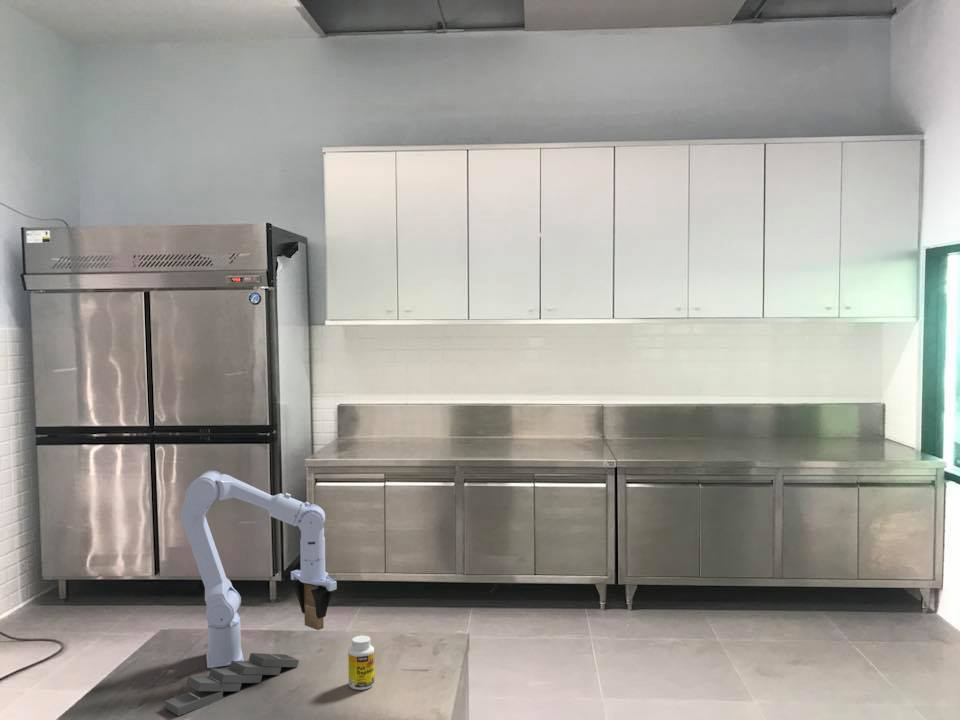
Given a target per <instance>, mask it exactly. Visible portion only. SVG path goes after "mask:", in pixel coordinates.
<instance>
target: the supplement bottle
mask: <svg viewBox="0 0 960 720" xmlns="http://www.w3.org/2000/svg"><path fill="white" fill-rule="evenodd" d="M371 643H372V641H371V637H370V636H368V635H357V636H355V637H353V638H352V639H351V646H350V647H349V648H348V652H347V653H348V685H349V687H350V688H351V689H353V690H358V691H365V690H367V689H370V688H372V687H373V686H374V684H375V648H374V646H373V645H372V644H371Z"/></svg>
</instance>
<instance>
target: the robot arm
mask: <svg viewBox="0 0 960 720" xmlns="http://www.w3.org/2000/svg"><path fill="white" fill-rule="evenodd" d="M184 495H185V496H184V500H183V503H182V508H181V513H180V519H181V523H182V526H183V529H184V532H185V535H186V538H187V540H188V543H189V547H190V549H191V551H192V555H193V557H194V560H195V563H196V566H197V569H198V572H199V575H200V577H201V581H202V584H203V587H204V602H205V604H206V611H205V618H206V620H207V643H208V645H207V646H208V648H207V651H206V652H205V654H206V655H205V657H206V667H207V669H211V668H219V667H227V666H230V664H231V661H245V660H244V655H243V651H242V645H241V644H242V643H241V642H242V641H241V636H242V635H241V617H240V615H239V613H238V612H237V611H238V610H239V608H240V607H241V604H242V596H241V595H240V593H239V591H238V590H236V589H235V588H234V586H233V584H232V582H231V580H230V579H229V578H227V576H226V573H225V569H224V566H223V564H222V560H221V557H220V555H219V551H218V549H217V547H216V544H215V541H214V538H213V535H212V532H211V528H210V527H209V523H208V519H207V517H206V514H207V512H208V511H209V509H210V507H211V505H212V503H213V502H214V501H215V500H216V499H217V498H218V497H219V499H218V501H225V500H228V499H232V498H235V499H238V500H241V501H243V502H246V503H249V504H252V505H254V506H258V507H261V508H263V509H266V510H267V512H268V514H269V517H271V518H274V519H276V520H279V521H281V522H284V523H287V524H289V525H291V526H293V527H298V528H299V531H300V541H299V543H300V548H299V549H300V569H295V570H292V571H290V580H292V581H295V580H296V582H294V583H292V584H291V588H292V590H293V591H294V593H295V594H296V597H297V600H298V603H299V607H300V610H301V613H302V614H304V613H305V609H304V584H305V583H308V584H312V585H316V586H318V588H317V589H313V590H311V593H312V595H313V597H314V601H315V606H316V616H317V618H318V619H320V618H322V617H323V618H325V617H326V616H327V611H328V606H329V603H330V601H331V599H332V596H333V594H334V592H335V590H337V589H338V588H337V586H338V585H337V580H334V579H333V578H331V577H330V576H329V572H327V571H326V538H325V529H324V528H325V527H324V526H325V521H326V513H325V511H324V509H323V508H322V507H321V506H319V505H317V503H312V504H310V502H308V501H305V502H303V501H300V500H298V499H295V498H293V497H291V496H292V494H290V493H288V492H286V493H284V494H283V493H282V492H281V493H278V494H275V495H271V494H270V493H268V492H265V491H263V490H261V489H258V488H257V487H254V486H252V485H250V484H248V483H246V482H244V481H242V480H239V479H238V478H235V477H233V476H231V475H229V474H225V473H223V474H222V473H221V472H219V471H217V470H207V471H204V472H203V473H201V475H200V476H199V477H198V478H196V479H194V480H193V481H192V482H191V483H190V485H189V486H188V488H187V489H186V491H185V494H184Z"/></svg>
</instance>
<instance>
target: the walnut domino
mask: <svg viewBox="0 0 960 720" xmlns="http://www.w3.org/2000/svg"><path fill="white" fill-rule="evenodd" d="M317 588H318V586H316V585H312V584H308V583H305V584H304V609H305V613H303V614H304V626H306V627H309V628H310V629H314V630H317V631H320V630H322V629H324V622H325V621H324V617H322V618H320V619H318V618H317V616H316V606H315V601H314V597H313V595H312V593H311V590H313V589H317Z"/></svg>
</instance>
